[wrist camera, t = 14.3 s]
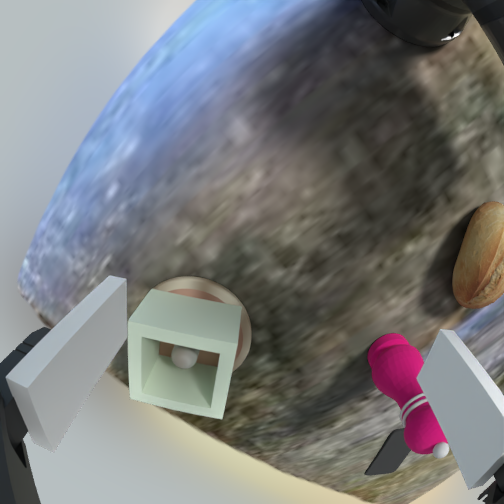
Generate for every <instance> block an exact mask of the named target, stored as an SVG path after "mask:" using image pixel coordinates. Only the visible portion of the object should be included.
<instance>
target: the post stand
mask: <svg viewBox="0 0 504 504" xmlns="http://www.w3.org/2000/svg"><path fill="white" fill-rule="evenodd" d="M153 289H156V290H160V291H165V292H170V293H175V294H180V295H184V296H189V297H194V298H199V299H204V300H210V301H215V302H220V303H225V304H231V305H236V306H242V310H241V319H240V328H239V337H238V345H237V350H236V355H235V360H234V365H233V370H232V372H233V371H234V370H236V369H237V368H238V367H239V366H240V365H241V364H242V363H243V361H244V360H245V358H246V356H247V354H248V352H249V349H250V345H251V322H250V318H249V315H248V313H247V311H246V309H245V307H244V306H243V304H242V303H241V301H240V300H239V299H238V298H237V297H236V296H235V295H234V294H233V293H232V292H231V291H230V290H228V289H227V288H225V287H224V286H222V285H220V284H219V283H217V282H214V281H212V280H209V279H206V278H202V277H196V276H180V277H174V278H171V279H168V280H165V281H163V282H161V283H159V284H158V285H156V286H155V287H154V288H153ZM159 355H163V356H168V357H171V358H172V361H173V363H174V364H175V365H176V366H177V367H179V368H182V369H188V368H191V367H192V366H193V365H194V364H195V363H200V364H205V365H211V366H216V367H218V363H219V357H220V353H215V352H210V351H204V350H199V349H195V348H190V347H185V346H180V345H176V344H171V343H167V342H162V341H160V346H159Z"/></svg>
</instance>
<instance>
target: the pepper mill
mask: <svg viewBox="0 0 504 504" xmlns="http://www.w3.org/2000/svg"><path fill="white" fill-rule="evenodd" d="M367 358H368V362H369V364H370V367H371V369H372V379H373V382H374V383H375V385H376V387H377V388H378V389H379V390H380V391H381V392H382V393H383V394H385V395H387V396H388V397H390V398H392V399H394V400H395V401H396V402H397V403H398V405H399V407H400V409H401V412H400V420H401V421H402V424H403V426H404V427H405V429H404V440H405V442H406V444H407V446H408V447H409V448H410V449H411V450H412V451H413V452H415V453H418V454H430V453H433V455H434V456H435V457H436V458H443V457H445V456H446V455H447V453H448V452H449V446H448V442H447V439H446V437H445V435H444V433H443V431H442V429H441V427H440V425H439V423H438V421H437V418H436V416H435V414H434V412H433V410H432V408H431V406H430V404H429V402H428V400H427V398H426V396H425V394H424V393H423V391H422V389H421V387H420V385H419V383H418V381H417V379H416V378H417V376H418V374H419V372H420V370H421V368H422V366H423V364H424V362H423V359H422V357H421V354H420V353H419V351H418V350H417V349H416V348H415V347H413V346H411V345H409V343H408V342H407V340H406V339H405V338H404V337H403V336H402V335H400V334H396V333H391V334H386V335H384V336H382V337H380V338H379V339H377V340H376V341H375V342H374V343H373V344H372V345H371V347H370V349H369V351H368V356H367Z"/></svg>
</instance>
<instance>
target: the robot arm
mask: <svg viewBox="0 0 504 504" xmlns="http://www.w3.org/2000/svg"><path fill="white" fill-rule="evenodd" d="M362 2H363V4H364V5H365V7H366V8H367V10H368V11H369V12H370V14H371V15H372V16H373V17H374V18H375V19H376V20H377V21H378V22H379V23H380V24H381V25H382V26H383V27H384V28H386V29H387V30H388V31H390V32H391V33H393V34H394V35H396V36H398V37H399V38H401V39H403V40H405V41H407V42H410V43H413V44H416V45H420V46H426V47H436V46H441V45H444V44H446V43H448V42H450V41H452V40H454V39H455V38H456V37H458V36H459V35H460V34H461V32H462V31H463V29H464V28H465V26H466V24H467V22H468V21H469V19H470V17H471V16H472V14H473V15H474V17H475V18H476V20H477V21H478V23H479V24H480V26H481V28H482V29H483V31H484V32H485V34H486V35H487V37H488V39H489V40H490V42H491V44H492V45H493V47H494V49H495V50H496V52H497V54H498V56H499V57H500V59H501V61H502V63H503V65H504V0H362ZM127 337H128V332H127V279H124V278H120V277H115V276H111V275H109V276H108V277H107V278H106V279H105V280H104V281H103V282H102V283H100V284H99V285H98V286H97V287H96V288H95V289H94V290H93V291H92V292H91V293H90V294H88V295H87V296H86V297H85V298H84V299H83V300H82V301H81V302H80V303H79V304H78V305H77V306H76V307H74V308H73V309H72V310H71V311H70V312H69V313H68V314H67V315H66V316H65V317H64V318H63V319H62V320H61V321H60V322H59V323H58V324H57V325H56V326H55V327H54V328H53V329H52V330H51V329H48V328H46V327H43V328H41V329H39V330H37V331H35V332H33V333H31V334H30V335H29V336H28V337H27V338H26V339H25V340H24V341H23V343H21V344H20V345H18V346H17V347H16V350H13V351H12V352H11V353H10V354H9V355H8V356H7V357H6V358H5V359H4V360H3V361H2V362H1V363H0V504H41V503H40V500H39V496H38V493H37V490H36V486H35V483H34V479H33V475H32V472H31V467H30V464H29V459H28V455H27V450H26V446H25V443H24V441H23V438H24V436H25V435H26V433H27V432H29V434H30V436H31V438H32V440H33V442H34V443H35V444H37V445H39V446H41V447H43V448H45V449H47V450H49V451H51V452H54V451H55V450H56V448H57V447H58V445H59V443H60V442H61V440H62V438H63V437H64V435H65V433H66V432H67V430H68V428H69V427H70V425H71V423H72V422H73V420H74V419H75V417H76V415H77V414H78V412H79V410H80V409H81V407H82V406H83V404H84V403H85V401H86V399H87V398H88V396H89V395H90V393H91V391H92V390H93V389H94V387H95V385H96V384H97V382H98V381H99V379H100V378H101V376H102V374H103V373H104V372H105V370H106V369H107V367H108V366H109V364H110V363H111V361H112V360H113V358H114V357H115V355H116V354H117V352H118V351H119V349H120V348H121V346H122V345H123V343H124V342H125V340H126V339H127ZM416 379H417V381H418V383H419V385H420V387H421V389H422V391H423V393H424V394H425V396H426V398H427V400H428V402H429V404H430V406H431V408H432V410H433V412H434V414H435V416H436V418H437V421H438V423H439V425H440V427H441V429H442V431H443V433H444V435H445V437H446V439H447V442H448V444H449V446H450V448H451V450H452V452H453V455H454V457H455V459H456V461H457V464H458V466H459V468H460V470H461V473H462V475H463V477H464V480H465V482H466V484H467V487H468V489H472V488H476V487H479V486H482V485H484V484H485V483H486V482H487V481H488V480H489V479H490V478H491V477H492V476H493V475H494V477H495V479H496V480H495V481H494V482H493V483H492V484H491V485H490V486H489V487H488V488H487V489H486V490H485V491H484V492H483V493H482V494H480V496H479V497H478V500H480V499H481V498H482V497H483V496H485V495H486V494H488V496H487V497H486V498H485V499H484V500H483V502H485V504H504V394H503V393H502V392H501V391H500V390H499V388H498V387H497V386H496V384H495V383H494V382H493V380H492V379H491V378H490V376H489V375H488V374H487V372H486V371H485V370H484V368H483V367H482V366H481V364H480V363H479V362H478V361H477V359H476V358H475V357H474V356H473V354H472V353H471V352H470V351H469V349H468V348H467V347H466V346H465V344H464V343H463V342H462V341H461V339H460V338H459V337H458V336H457V335H456V333H455V332H454V331H453V330H444V329H440V331H439V333H438V335H437V337H436V340H435V342H434V344H433V346H432V348H431V350H430V352H429V354H428V356H427V358H426V360H425V362H424V364H423V366H422V368H421V370H420V372H419V374H418V376H417V378H416Z"/></svg>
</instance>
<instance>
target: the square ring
mask: <svg viewBox="0 0 504 504" xmlns="http://www.w3.org/2000/svg"><path fill="white" fill-rule="evenodd" d="M241 310H242V306H236V305H231V304H225V303H220V302H215V301H210V300H204V299H199V298H194V297H189V296H184V295H180V294H175V293H170V292H165V291H160V290H156V289H151V290H150V291H149V292H148V294H147V295H146V296H145V298H144V299H143V300H142V302H141V303H140V305H139V306H138V307H137V309H136V310H135V311H134V313H133V314H132V315H131V317H130V318H129V320H128V370H129V391H130V399H134V400H137V401H141V402H144V403H148V404H152V405H156V406H160V407H164V408H169V409H173V410H177V411H182V412H187V413H191V414H196V415H201V416H207V417H212V418H218V419H222V418H223V413H224V409H225V404H226V399H227V394H228V389H229V384H230V379H231V375H232V370H233V365H234V360H235V355H236V350H237V345H238V337H239V328H240V319H241ZM160 341H162V342H167V343H171V344H176V345H180V346H185V347H190V348H195V349H199V350H204V351H210V352H215V353H220V357H219V363H218V367H216V366H211V365H205V364H200V363H195V364H194V365H193V366H192V367H191V368H188V369H182V368H179V367H177V366H176V365H175V364H174V363H173V361H172V358H171V357H168V356H163V355H159V346H160Z"/></svg>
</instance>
